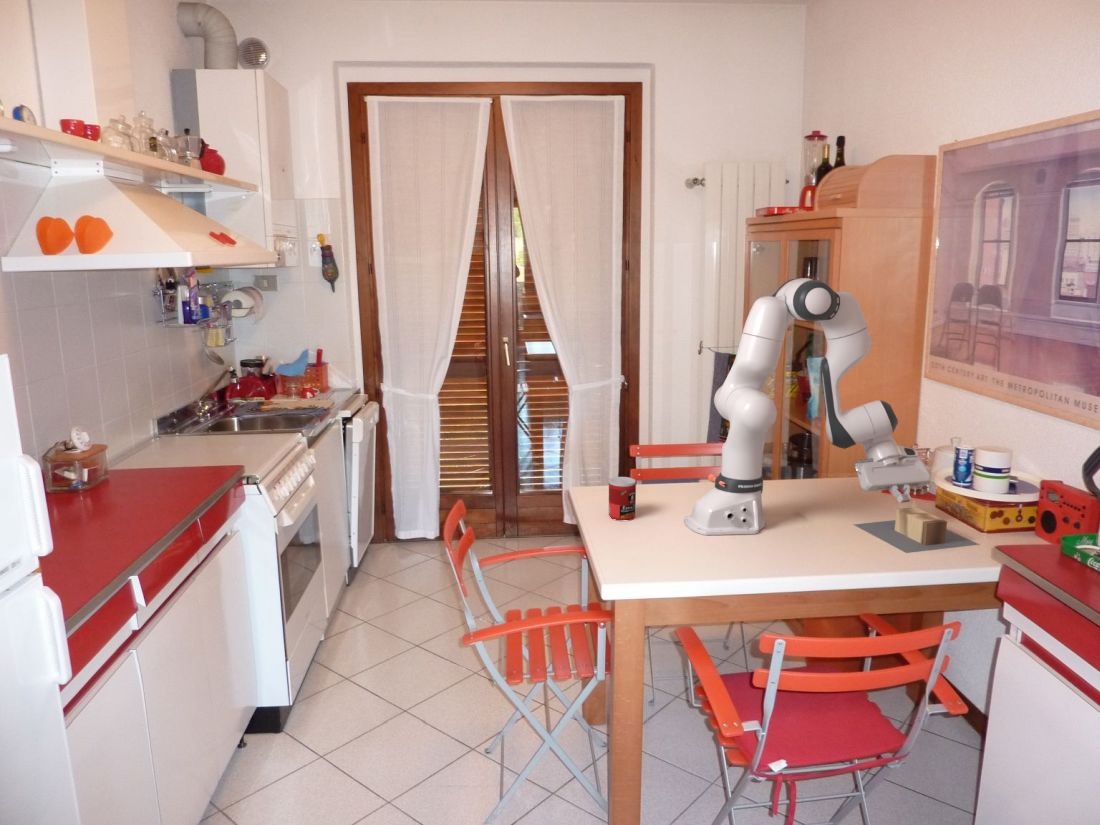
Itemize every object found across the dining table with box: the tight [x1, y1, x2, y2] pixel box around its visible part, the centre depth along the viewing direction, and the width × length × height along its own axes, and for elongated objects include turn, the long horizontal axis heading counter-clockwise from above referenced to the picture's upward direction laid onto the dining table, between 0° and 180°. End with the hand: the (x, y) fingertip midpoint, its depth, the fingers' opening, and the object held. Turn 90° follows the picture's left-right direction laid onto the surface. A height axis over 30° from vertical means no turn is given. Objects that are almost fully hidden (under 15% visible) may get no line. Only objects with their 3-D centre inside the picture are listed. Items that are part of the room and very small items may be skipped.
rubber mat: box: [852, 519, 980, 554], centre depth 215 cm, size 22×22×1 cm
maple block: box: [894, 506, 948, 546], centre depth 212 cm, size 6×6×12 cm
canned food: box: [608, 476, 637, 521], centre depth 231 cm, size 8×8×11 cm
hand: (905, 501), depth 217 cm, fingers closed
